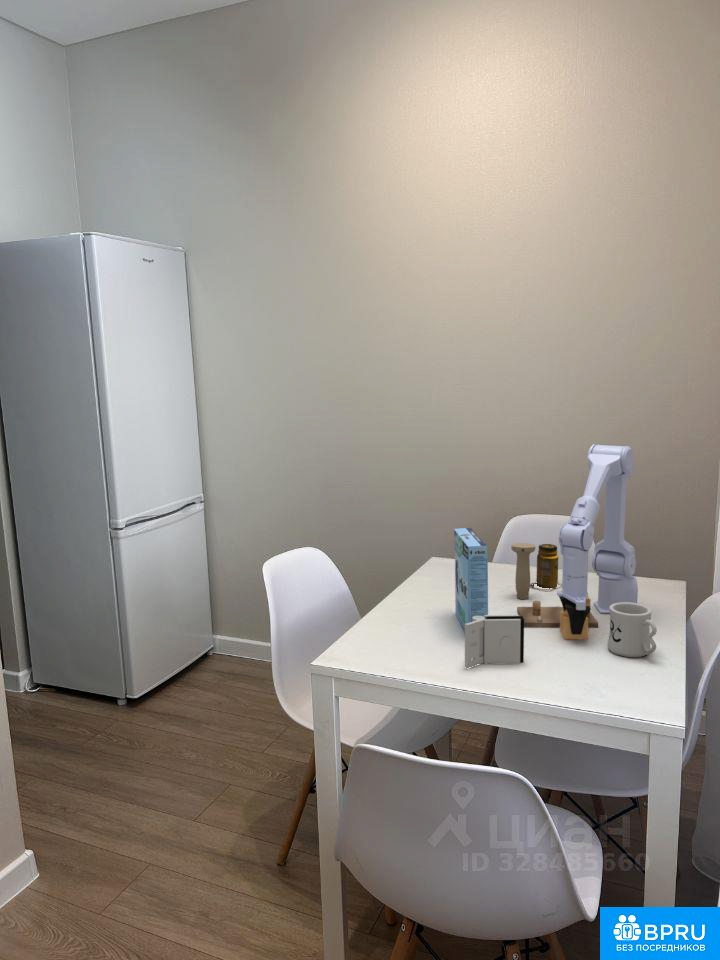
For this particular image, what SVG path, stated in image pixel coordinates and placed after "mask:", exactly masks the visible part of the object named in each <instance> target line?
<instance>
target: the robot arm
mask: <svg viewBox="0 0 720 960" xmlns="http://www.w3.org/2000/svg"><path fill="white" fill-rule="evenodd" d="M586 459H587V467H588V470H589V474H588V477H587V482H586V485H585V488H584V492H583V496H581V497H578V498H577V499H576V501H575V504H574V506H573V508H572V511H571V514H570V516H569V519H568V522H567V523H566V524H564V525H562V526H561V528H560V530H559V534H558V535H559V536H558V545H559V546H560V554H561V555H562V578H561V579H562V580H561V581H562V586H561V587H562V588H561V590H557V591H556V595H557V596H558V597H559V600H560V602H561V605H562V607H563V609H564V611H565V610H567V612H568V615H569V620H570V628H571V632H572V634H581V633H582V630H583V626H584V622H585V619H586V617H587V615H588V614H589V612H591V610H592V608H591V605H590V606H586V599H587V597H589V592H588V579H589V578H588V577H589V574H588V573H589V550H590V549H591V548H592V545H593V542H594V534H595V522H596V521H597V518H598V515H599V512H600V510H601V505H600V504H599V499H600V497H601V495H602V494H603V491H604V489H605V506H604V509H605V510H604V528H603V529H604V530H603V534H604V535H603V539H602V540H600V541H599V542H597V543H596V544H595V545H594V548H593V550H594V551H593V554H592V558H591V567H592V569H593V571H594V572H596V576H598V594H597V595H598V597H597V600H598V601H594V602H593V605H594V607H595V608H596V609H597V610H598V612H599V613H600V614H610V609H609V607H610V606H611V605H612V604H614V603H620V602H630V603H637V604H638V595H639V593H638V592H639V587H638V580H637V578H636V576H634V574H635V572H636V566H637V558H636V551H635V547H634V546H633V545H631V544H630V543H629V542H628V541H626V539H625V522H626V501H627V500H626V499H627V482H628V478H630V477H633V474H634V470H635V469H634V468H635V466H634V465H635V464H634V463H635V454H634V452H633V449H632V448H631V446H629V445H625V446H621V445H603V444H597V443H593V444H592V445H591V446H590V447H589V449H588V451H587V458H586Z"/></svg>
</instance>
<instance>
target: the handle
mask: <svg viewBox="0 0 720 960" xmlns="http://www.w3.org/2000/svg"><path fill="white" fill-rule="evenodd" d="M510 546H511V550H512V551H513V552H514V553H515V554H516V567H515V590H516V591H515V592H516V598H517V599H519V600H528V599H529V595H530V589H531V587H530V584H531V567H530V566H531V565H530V564H531V563H530V556H531V553H534V552H535V551H536V544H534V543H528V542H527V543H525V542H516V543H515V542H514V543H511V545H510Z"/></svg>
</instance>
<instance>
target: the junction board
mask: <svg viewBox="0 0 720 960" xmlns="http://www.w3.org/2000/svg"><path fill="white" fill-rule="evenodd" d="M541 604H542V603H541V601H539V600H532V606H517V607H516V612H517V615H519V616H523V618H524V628H557V629H558V628H559V629H560V611H564V609H563V606H541ZM586 606H590V607H591V598H590V597H589V596H588V597H587V599H586ZM587 618H588V629H589V628H592V629H594V628H599V621H598V620H597V619H596V617H595V616H594V615H593V613H592V612H591V611H590V612H589V614H588V615H587Z"/></svg>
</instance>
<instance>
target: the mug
mask: <svg viewBox="0 0 720 960" xmlns="http://www.w3.org/2000/svg"><path fill="white" fill-rule="evenodd" d="M609 609H610V613H609V619H610V621H609V622H610V623H609V633H608V638H607V647H608V649H609V650H610V651H611V653H612V654H615V655H617V656H621V657H626V658H640V657H641V658H643V657H646V656H647V655H649V654H652V653H654V652H655V651H656V649H657V644H656V642H655V640H654V638H653V637H654V636H655V635H656V634H657V631H658V630H657V626H656V624H655V623H654V622H653V621H652V620H651V618H652V609H651V607H649V606H647V605H645V604H643V603H642V604H641V603H638V602H637V603H630V602H620V603H614V604H612V605H611V606H610V607H609ZM650 627H651V628H650ZM650 629H652V631H651V630H650ZM645 655H646V656H645ZM642 656H643V657H642Z"/></svg>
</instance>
